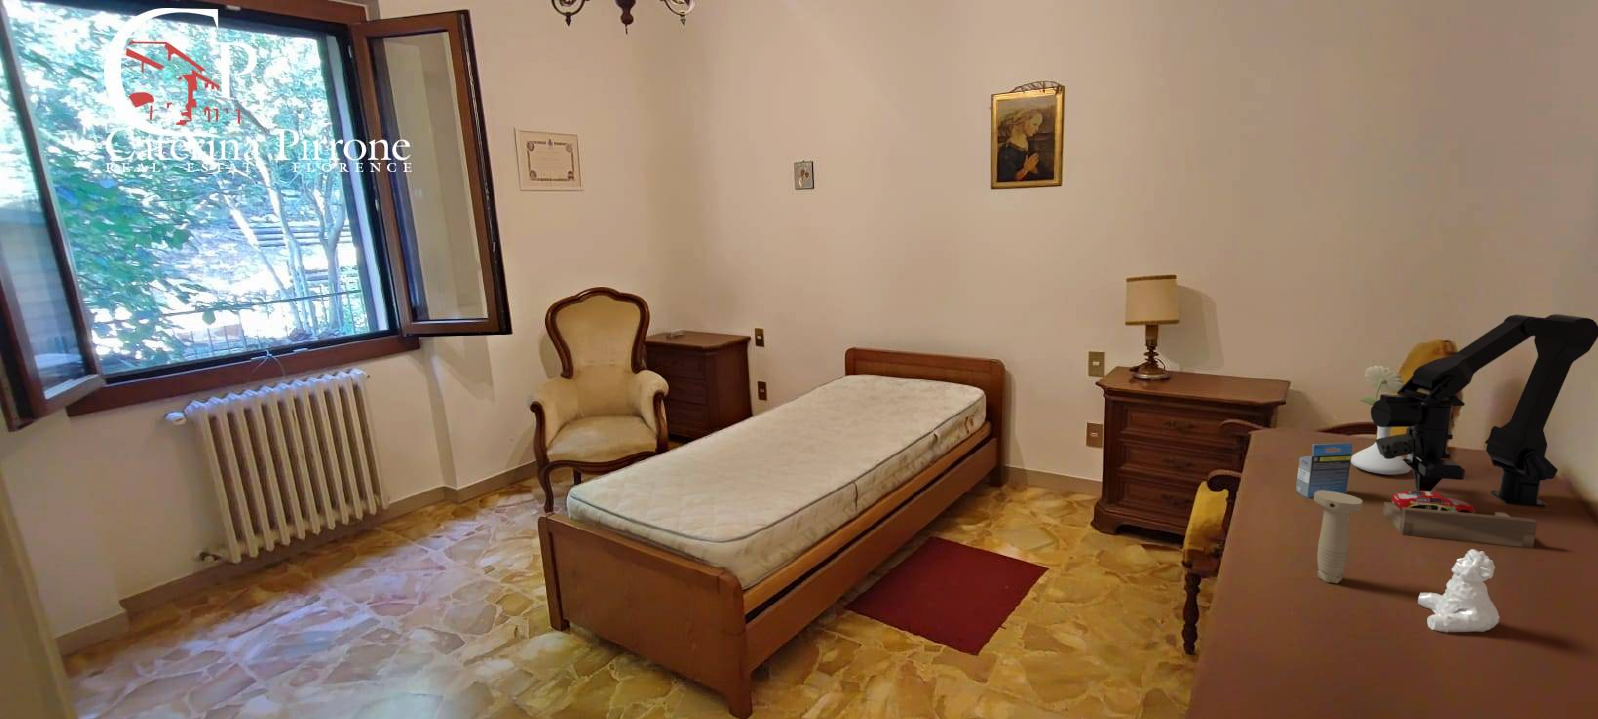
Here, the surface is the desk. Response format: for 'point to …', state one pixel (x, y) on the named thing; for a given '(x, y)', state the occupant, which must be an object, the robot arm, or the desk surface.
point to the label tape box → (1324, 469)
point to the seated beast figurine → (1464, 598)
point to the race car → (1430, 502)
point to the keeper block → (1462, 526)
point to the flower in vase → (1371, 456)
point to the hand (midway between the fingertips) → (1421, 496)
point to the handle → (1334, 533)
